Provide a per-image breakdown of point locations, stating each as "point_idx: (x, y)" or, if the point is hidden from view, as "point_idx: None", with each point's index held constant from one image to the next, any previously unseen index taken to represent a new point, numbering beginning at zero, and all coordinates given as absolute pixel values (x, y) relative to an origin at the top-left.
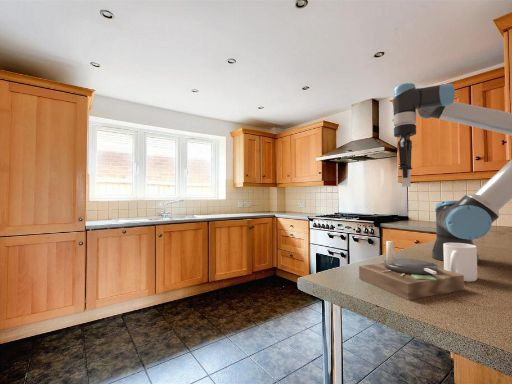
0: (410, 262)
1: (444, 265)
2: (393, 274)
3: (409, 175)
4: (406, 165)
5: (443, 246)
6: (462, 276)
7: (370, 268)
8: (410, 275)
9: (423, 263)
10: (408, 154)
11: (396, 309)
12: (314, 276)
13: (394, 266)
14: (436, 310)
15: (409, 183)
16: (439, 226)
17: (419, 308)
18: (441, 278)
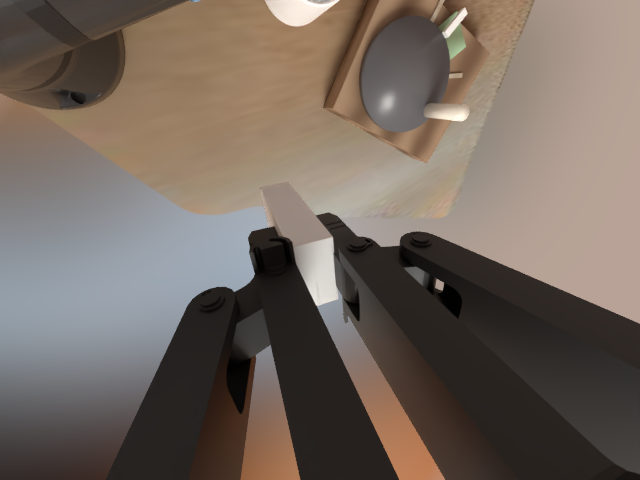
0: (396, 81)
1: (315, 18)
2: (451, 92)
3: (311, 211)
4: (436, 243)
5: (324, 8)
6: None
7: (432, 140)
8: None
9: (392, 53)
10: (482, 407)
11: (503, 59)
12: (433, 211)
13: (441, 97)
14: (491, 7)
15: (293, 190)
16: (39, 63)
17: (492, 32)
18: (441, 3)
